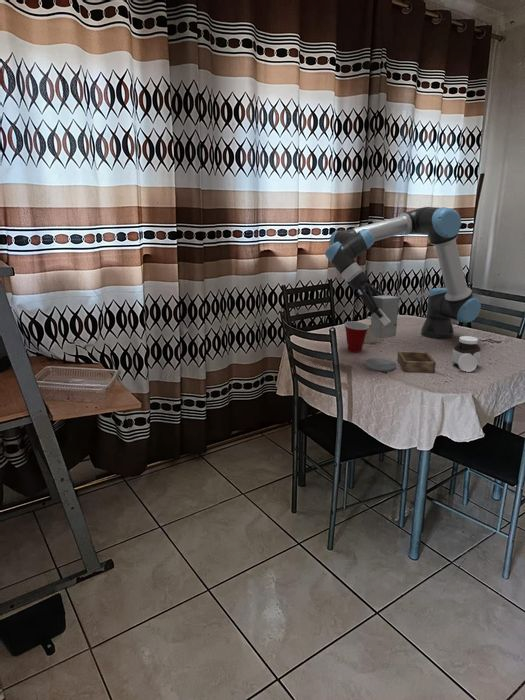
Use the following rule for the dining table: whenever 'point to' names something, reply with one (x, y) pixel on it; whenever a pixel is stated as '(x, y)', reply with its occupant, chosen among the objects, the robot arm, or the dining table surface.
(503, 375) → the dining table surface
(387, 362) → the slate plate
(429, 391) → the dining table surface
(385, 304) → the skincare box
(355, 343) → the plastic cup
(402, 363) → the walnut collar
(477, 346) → the spread jar
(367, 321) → the teacup with lid
